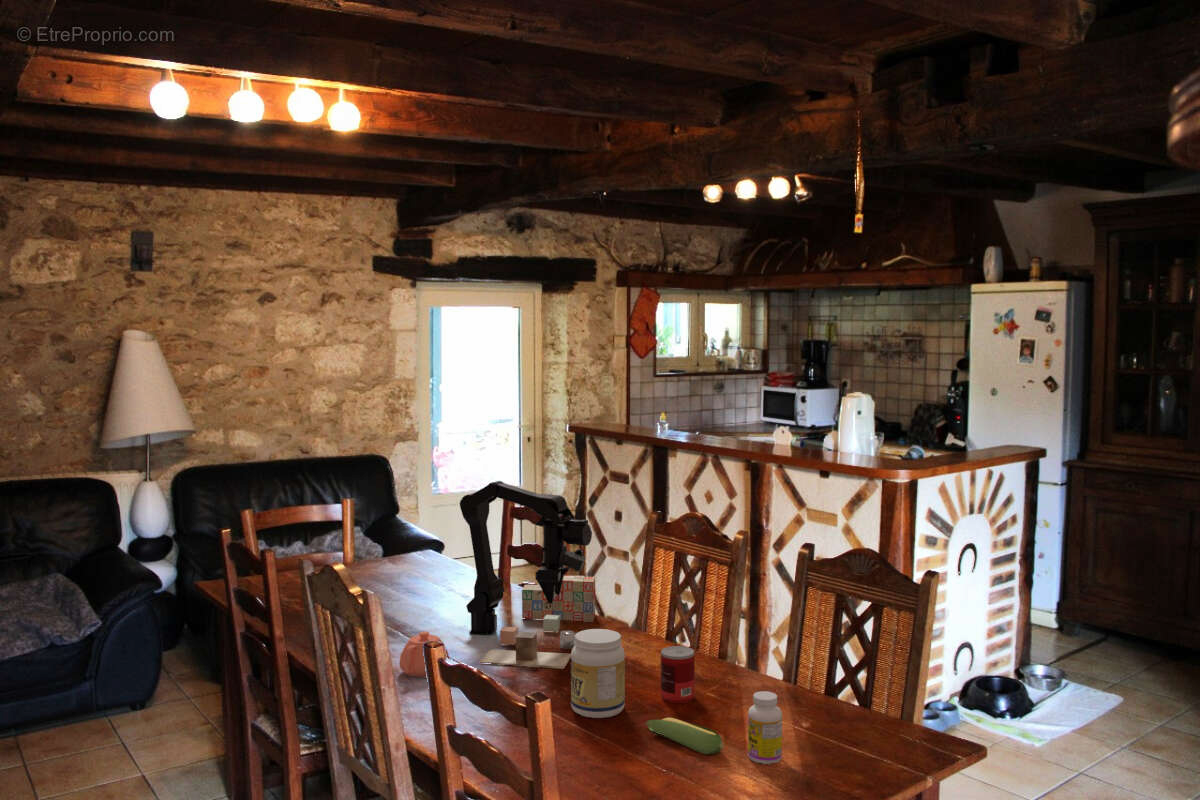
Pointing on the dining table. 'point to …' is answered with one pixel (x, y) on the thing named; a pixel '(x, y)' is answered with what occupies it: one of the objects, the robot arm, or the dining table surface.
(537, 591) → the stack of blocks
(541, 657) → the oak board
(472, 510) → the robot arm
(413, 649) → the terracotta lidded pot
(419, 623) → the dining table surface
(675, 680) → the canned food
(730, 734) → the dining table surface
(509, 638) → the terracotta cube
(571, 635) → the metal tin
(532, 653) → the walnut block
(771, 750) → the supplement bottle
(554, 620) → the sage green block
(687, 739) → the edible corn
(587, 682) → the supplement tub
